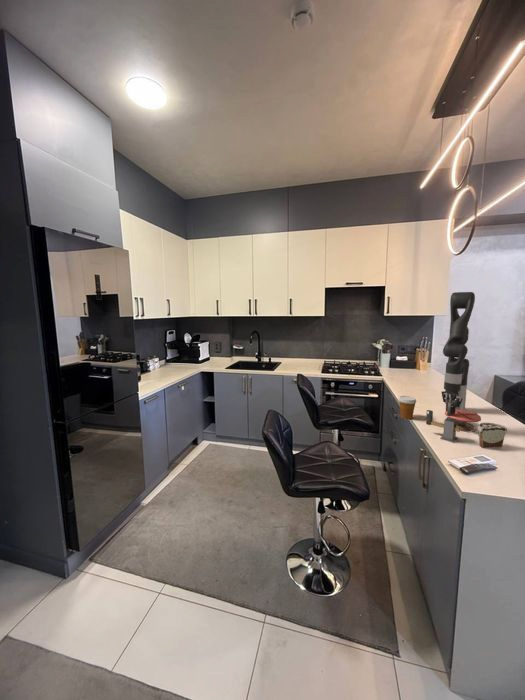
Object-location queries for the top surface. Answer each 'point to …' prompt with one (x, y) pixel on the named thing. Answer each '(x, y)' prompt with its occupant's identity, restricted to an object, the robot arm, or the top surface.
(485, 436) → the food container
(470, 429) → the pedestal
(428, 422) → the hook
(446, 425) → the eye block
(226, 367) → the top surface
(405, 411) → the disposable coffee cup
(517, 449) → the top surface
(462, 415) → the handwheel
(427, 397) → the top surface
